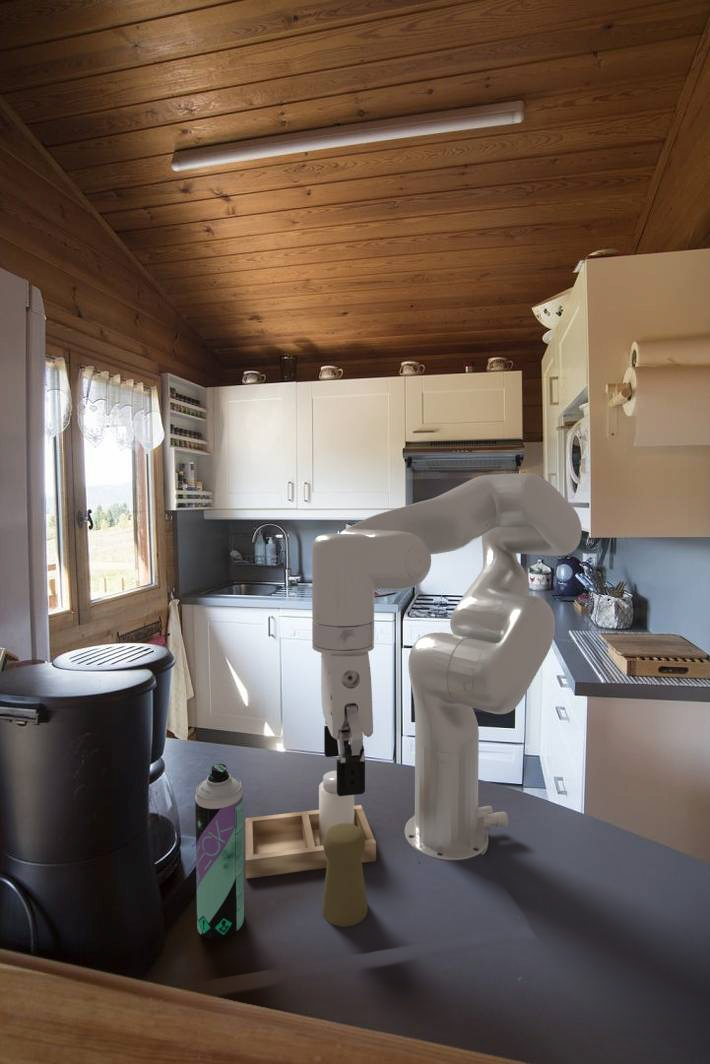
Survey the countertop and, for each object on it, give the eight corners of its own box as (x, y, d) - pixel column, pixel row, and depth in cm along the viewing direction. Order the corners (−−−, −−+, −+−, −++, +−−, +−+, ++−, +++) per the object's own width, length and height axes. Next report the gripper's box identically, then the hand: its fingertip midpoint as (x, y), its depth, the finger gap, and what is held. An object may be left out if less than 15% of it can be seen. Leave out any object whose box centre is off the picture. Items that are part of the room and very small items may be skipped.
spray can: (205, 911, 68) (203, 755, 67) (248, 912, 68) (246, 756, 67) (190, 946, 62) (188, 777, 61) (237, 948, 62) (235, 778, 61)
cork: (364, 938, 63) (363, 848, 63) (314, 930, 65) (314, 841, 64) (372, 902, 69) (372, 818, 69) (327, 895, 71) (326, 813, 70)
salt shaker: (350, 830, 83) (350, 767, 83) (357, 851, 78) (357, 784, 77) (317, 834, 82) (316, 770, 81) (322, 856, 77) (321, 788, 76)
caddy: (360, 826, 86) (360, 804, 86) (376, 867, 76) (375, 843, 76) (245, 840, 82) (245, 818, 82) (246, 885, 72) (245, 860, 72)
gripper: (392, 652, 58) (391, 808, 58) (358, 619, 75) (358, 741, 75) (322, 655, 56) (322, 816, 57) (304, 621, 73) (305, 745, 74)
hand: (343, 773), depth 66 cm, fingers open, 9 cm apart
